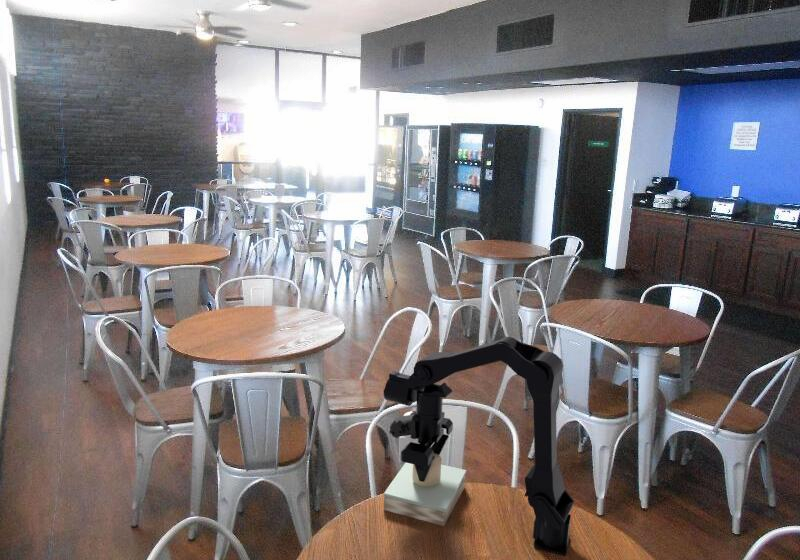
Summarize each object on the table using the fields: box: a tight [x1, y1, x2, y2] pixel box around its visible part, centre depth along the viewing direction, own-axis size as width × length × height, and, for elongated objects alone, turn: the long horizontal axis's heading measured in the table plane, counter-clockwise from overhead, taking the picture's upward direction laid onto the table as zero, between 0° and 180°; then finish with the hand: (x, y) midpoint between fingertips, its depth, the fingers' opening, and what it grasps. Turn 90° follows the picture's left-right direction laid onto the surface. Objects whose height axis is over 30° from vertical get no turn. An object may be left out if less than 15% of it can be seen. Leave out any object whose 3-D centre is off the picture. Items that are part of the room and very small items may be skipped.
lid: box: [383, 463, 467, 512], centre depth 135 cm, size 14×16×1 cm
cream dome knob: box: [412, 453, 442, 486], centre depth 134 cm, size 6×6×5 cm
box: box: [383, 476, 466, 527], centre depth 135 cm, size 14×16×3 cm
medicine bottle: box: [398, 410, 420, 464], centre depth 152 cm, size 7×7×12 cm
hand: (426, 473), depth 134 cm, fingers closed on cream dome knob, 6 cm apart
